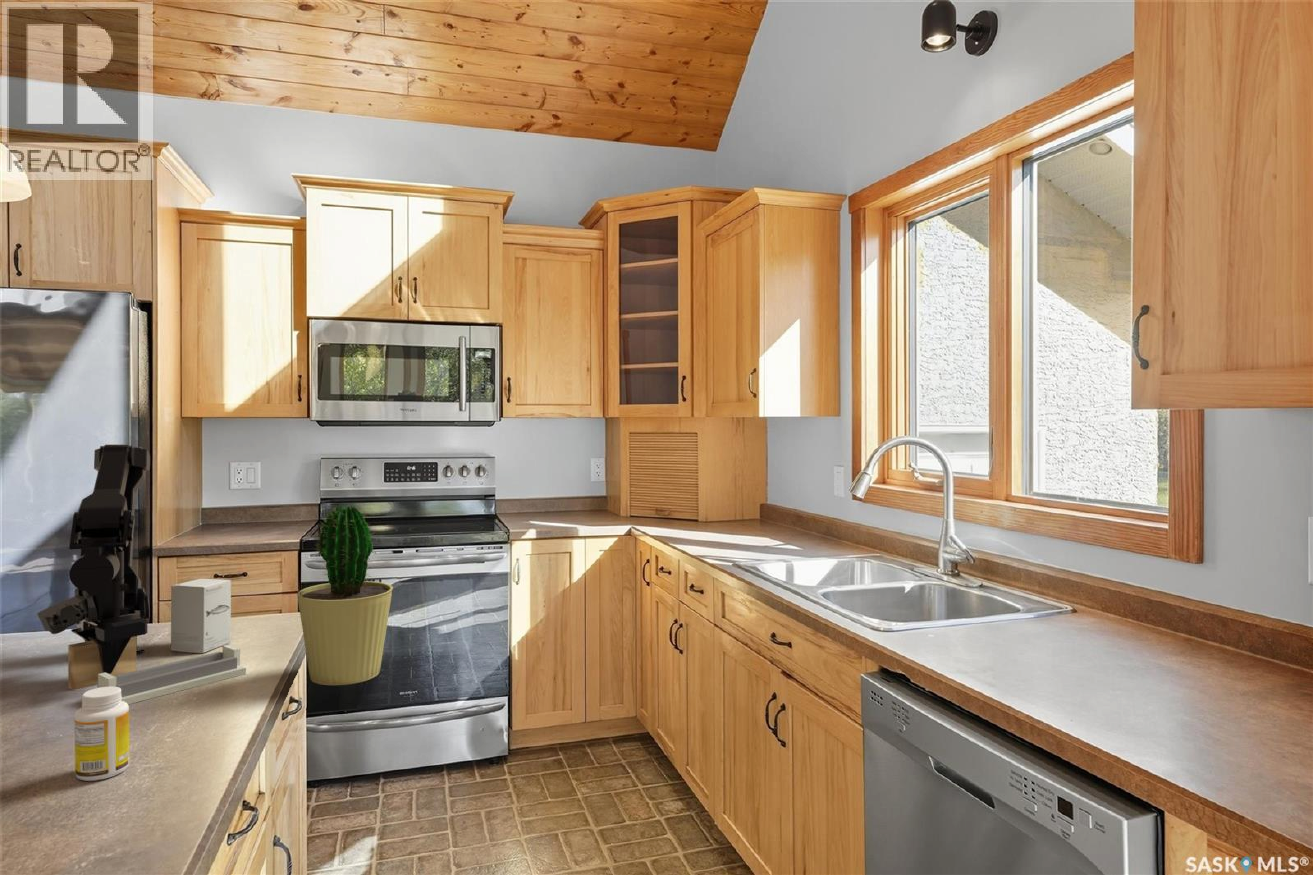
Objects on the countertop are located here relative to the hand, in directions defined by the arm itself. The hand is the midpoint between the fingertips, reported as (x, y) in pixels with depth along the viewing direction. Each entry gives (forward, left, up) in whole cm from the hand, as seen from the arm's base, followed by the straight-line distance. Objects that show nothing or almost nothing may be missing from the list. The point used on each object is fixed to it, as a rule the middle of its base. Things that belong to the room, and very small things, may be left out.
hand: (103, 672), depth 130 cm
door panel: (0, 0, -2) cm, 2 cm away
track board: (+11, +6, -2) cm, 13 cm away
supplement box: (-7, +19, -2) cm, 20 cm away
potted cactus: (+29, +26, -2) cm, 39 cm away
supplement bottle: (+38, -14, -2) cm, 41 cm away
